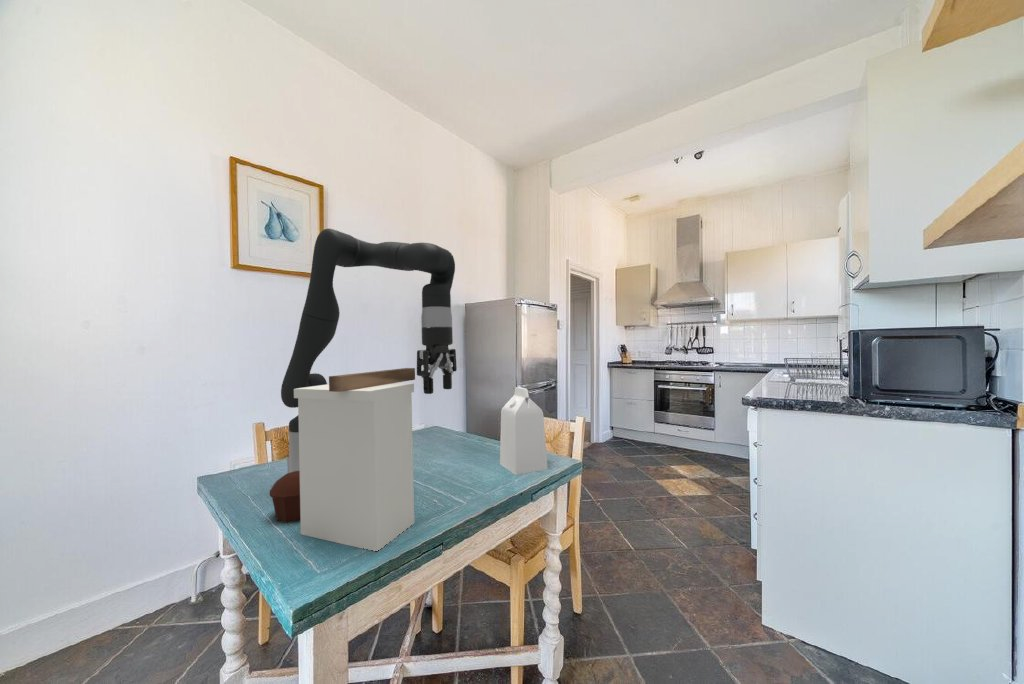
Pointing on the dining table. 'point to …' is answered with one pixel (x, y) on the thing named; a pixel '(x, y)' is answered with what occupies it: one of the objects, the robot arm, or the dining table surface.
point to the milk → (522, 435)
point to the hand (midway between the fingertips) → (438, 391)
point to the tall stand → (356, 463)
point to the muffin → (287, 497)
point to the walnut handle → (370, 379)
